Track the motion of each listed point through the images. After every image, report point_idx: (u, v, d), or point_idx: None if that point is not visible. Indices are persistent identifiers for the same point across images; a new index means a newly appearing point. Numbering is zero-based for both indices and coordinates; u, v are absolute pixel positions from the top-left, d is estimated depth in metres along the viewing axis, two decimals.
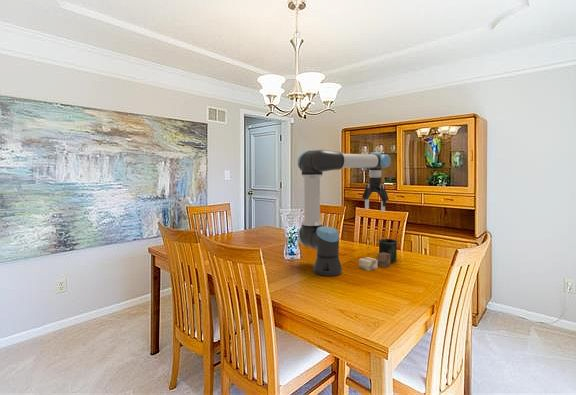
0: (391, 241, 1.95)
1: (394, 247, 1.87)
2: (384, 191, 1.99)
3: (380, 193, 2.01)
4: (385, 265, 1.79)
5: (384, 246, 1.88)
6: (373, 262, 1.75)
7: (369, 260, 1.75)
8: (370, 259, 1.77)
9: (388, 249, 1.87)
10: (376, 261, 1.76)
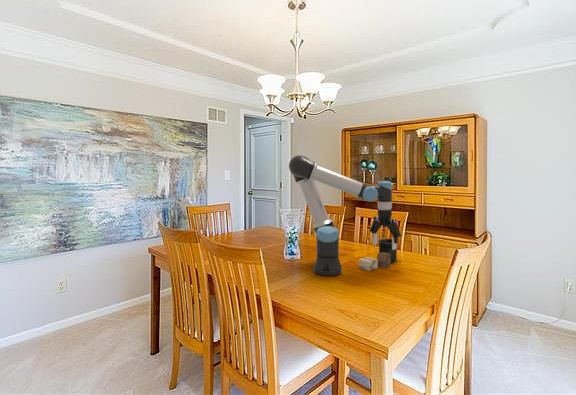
0: (391, 241, 1.95)
1: None
2: (395, 226, 1.73)
3: (391, 228, 1.75)
4: (385, 265, 1.79)
5: (384, 246, 1.88)
6: (373, 262, 1.75)
7: (369, 260, 1.75)
8: (370, 259, 1.77)
9: (388, 249, 1.87)
10: (376, 261, 1.76)
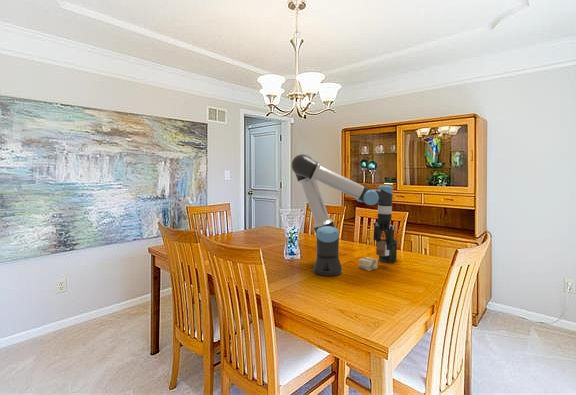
0: None
1: (394, 247, 1.87)
2: (392, 233, 1.75)
3: (387, 234, 1.77)
4: (384, 254, 1.78)
5: None
6: (373, 262, 1.75)
7: (369, 260, 1.75)
8: (370, 259, 1.77)
9: None
10: (376, 261, 1.76)
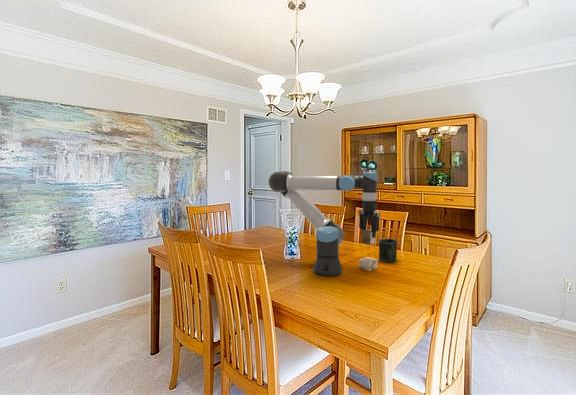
0: (391, 241, 1.95)
1: (394, 247, 1.87)
2: (377, 220, 1.70)
3: (372, 221, 1.73)
4: None
5: (384, 246, 1.88)
6: (373, 262, 1.75)
7: (369, 260, 1.76)
8: (370, 259, 1.78)
9: (388, 249, 1.87)
10: (376, 261, 1.76)
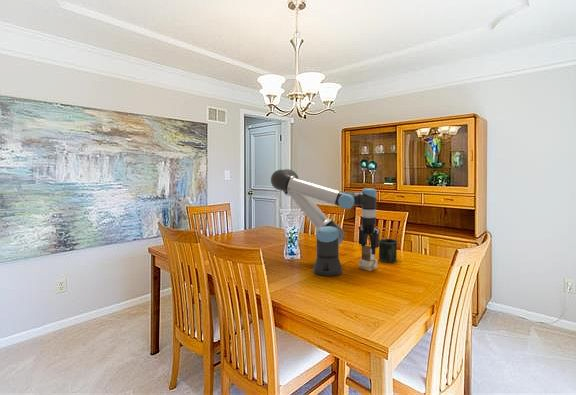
0: (391, 241, 1.95)
1: (394, 247, 1.87)
2: (376, 237, 1.71)
3: (372, 238, 1.73)
4: (369, 258, 1.75)
5: (384, 246, 1.88)
6: (373, 262, 1.75)
7: None
8: None
9: (388, 249, 1.87)
10: (376, 261, 1.77)
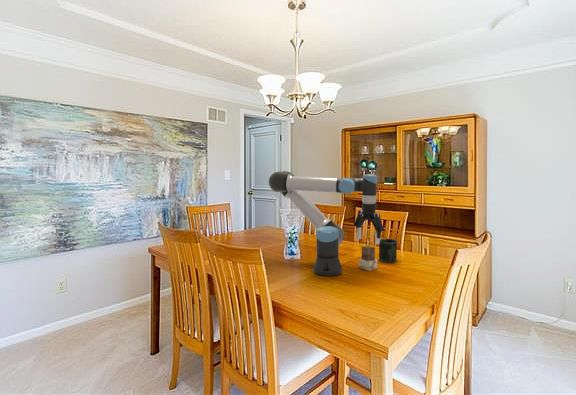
0: (391, 241, 1.95)
1: (394, 247, 1.87)
2: (379, 220, 1.69)
3: (374, 222, 1.71)
4: (369, 258, 1.75)
5: (384, 246, 1.88)
6: (373, 262, 1.75)
7: None
8: None
9: (388, 249, 1.87)
10: (376, 261, 1.77)
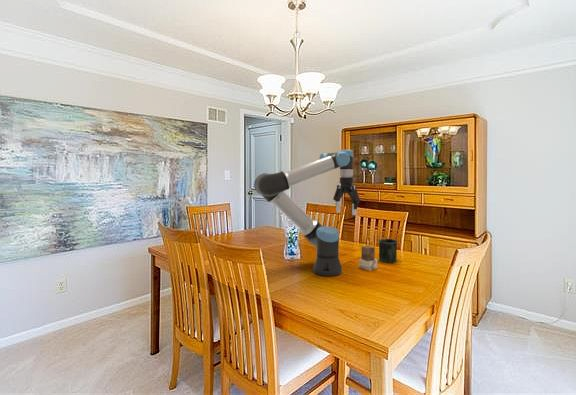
0: (391, 241, 1.95)
1: (394, 247, 1.87)
2: (355, 192, 1.79)
3: (351, 195, 1.81)
4: (369, 258, 1.75)
5: (384, 246, 1.88)
6: (374, 262, 1.75)
7: None
8: None
9: (388, 249, 1.87)
10: (376, 261, 1.77)
